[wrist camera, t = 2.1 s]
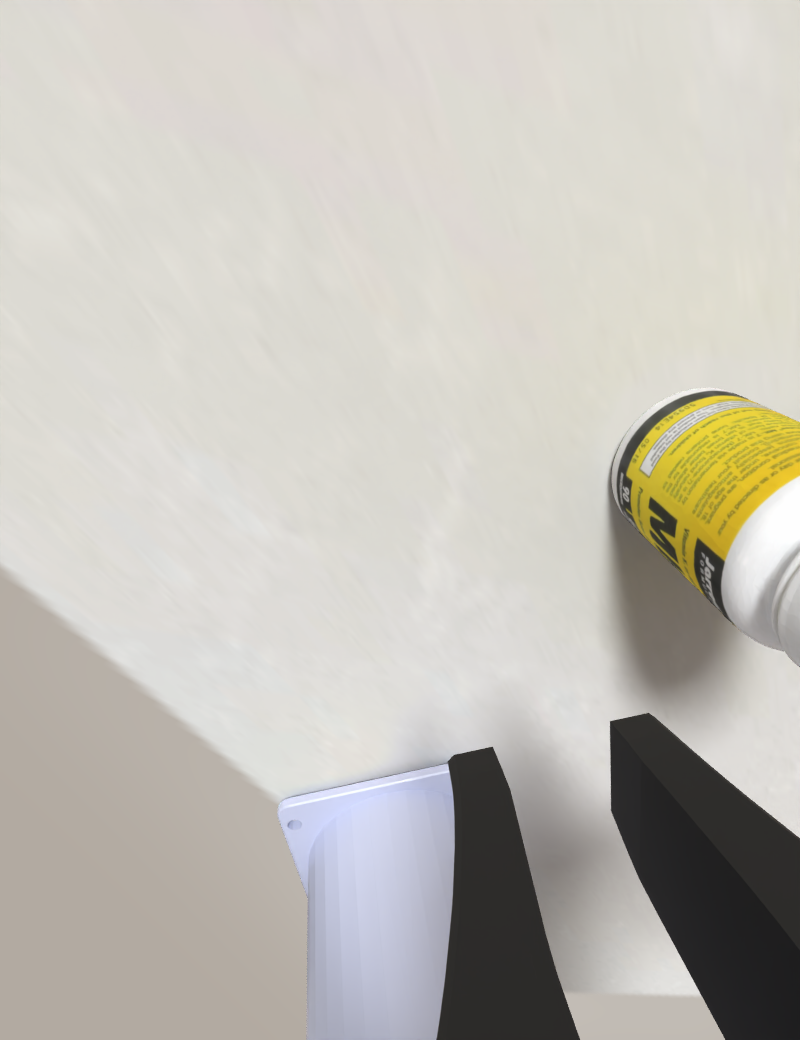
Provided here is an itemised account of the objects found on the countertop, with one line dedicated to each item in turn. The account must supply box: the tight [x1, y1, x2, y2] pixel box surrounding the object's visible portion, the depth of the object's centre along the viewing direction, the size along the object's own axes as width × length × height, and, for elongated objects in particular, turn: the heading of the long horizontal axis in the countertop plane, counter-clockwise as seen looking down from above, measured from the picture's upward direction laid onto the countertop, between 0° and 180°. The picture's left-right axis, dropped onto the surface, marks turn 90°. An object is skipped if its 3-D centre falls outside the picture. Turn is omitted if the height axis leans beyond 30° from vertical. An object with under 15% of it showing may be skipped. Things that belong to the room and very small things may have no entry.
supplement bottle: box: [612, 388, 800, 667], centre depth 15 cm, size 5×5×8 cm
